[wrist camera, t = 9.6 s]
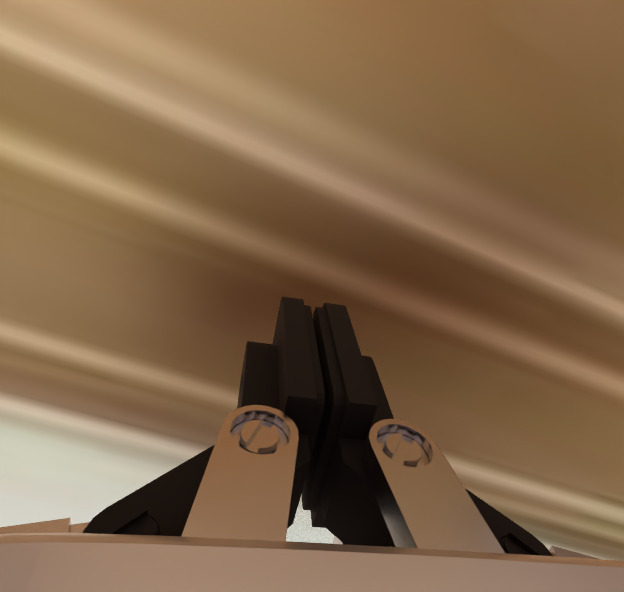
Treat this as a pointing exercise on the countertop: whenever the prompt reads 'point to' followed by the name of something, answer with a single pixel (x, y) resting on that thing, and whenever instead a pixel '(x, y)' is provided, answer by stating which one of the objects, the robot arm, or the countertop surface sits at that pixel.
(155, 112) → the countertop surface
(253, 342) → the robot arm
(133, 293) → the countertop surface
